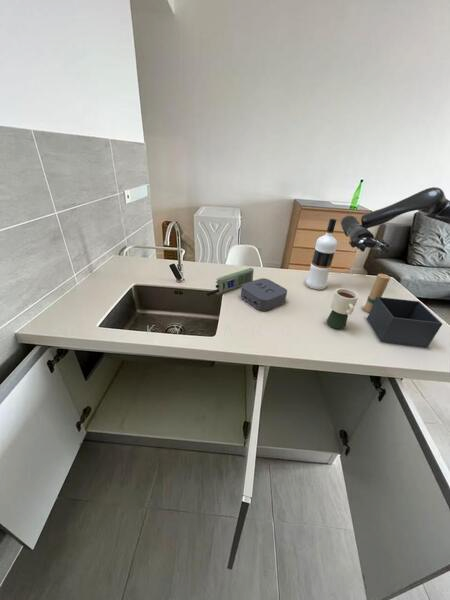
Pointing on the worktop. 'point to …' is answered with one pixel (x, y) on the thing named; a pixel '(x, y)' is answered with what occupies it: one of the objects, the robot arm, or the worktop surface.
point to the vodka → (322, 259)
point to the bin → (403, 322)
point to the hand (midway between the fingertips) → (375, 250)
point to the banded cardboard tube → (377, 290)
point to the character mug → (342, 307)
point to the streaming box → (263, 294)
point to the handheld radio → (232, 281)
